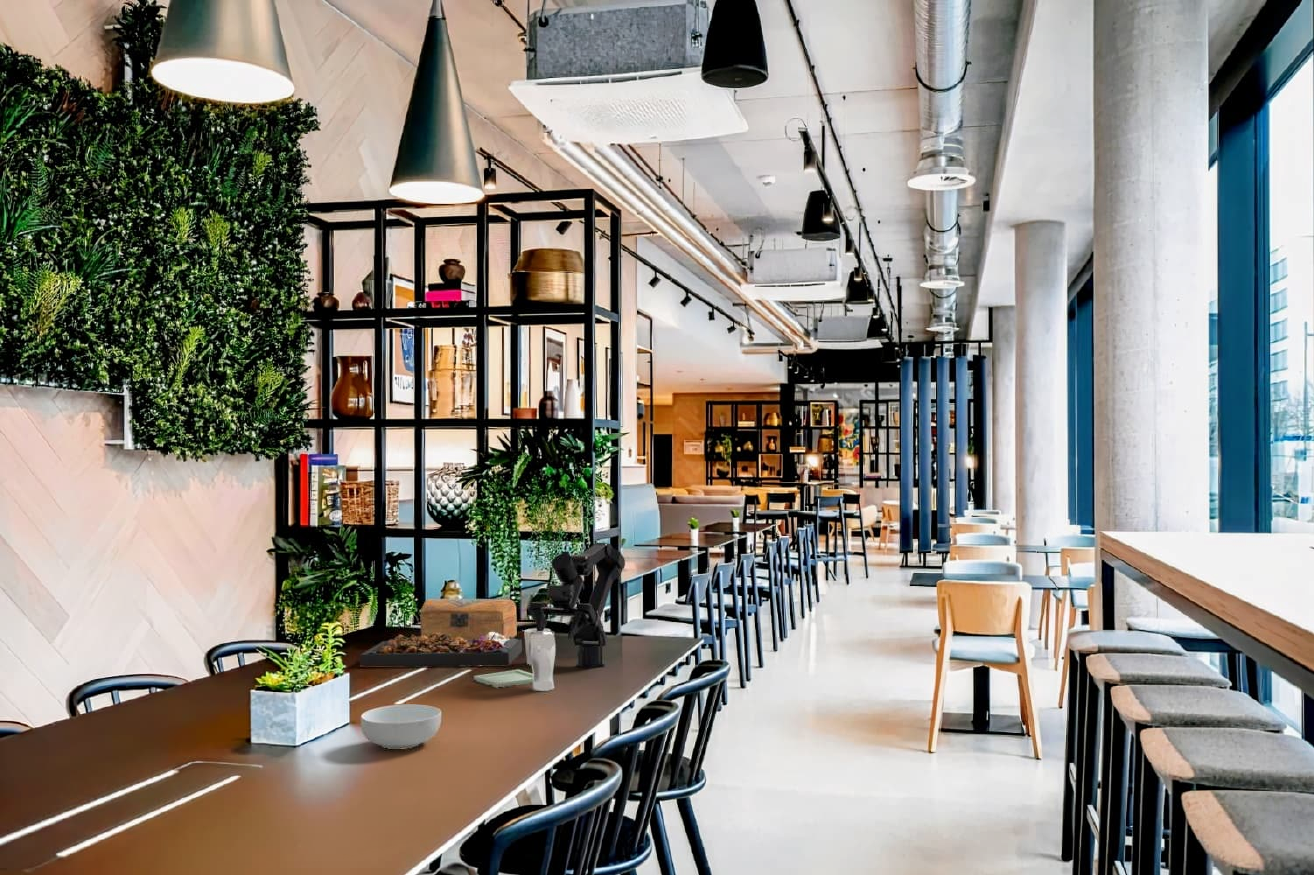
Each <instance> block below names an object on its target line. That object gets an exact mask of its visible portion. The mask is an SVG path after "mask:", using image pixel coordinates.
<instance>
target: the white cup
mask: <svg viewBox="0 0 1314 875" xmlns="http://www.w3.org/2000/svg"><path fill="white" fill-rule="evenodd" d="M536 631H537V627H534V628H528V629H525V630H524V632H523V633H524V645H525V646H524V647H525V656H526V664H527V665H528V664H529V665H528V666H532V665H531V660H530V651H529V644H530V633H531V632H536ZM543 631H552V630H551V629H550V628H546V627H545V628H544V630H543Z"/></svg>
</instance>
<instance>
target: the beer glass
mask: <svg viewBox="0 0 1314 875" xmlns="http://www.w3.org/2000/svg"><path fill="white" fill-rule="evenodd" d="M555 635H556V634H555V631H553V630H551V631H536V632H531V633H530V644H529V651H530V660H531V665H530V666H531V669H532V674H533V683H531V684H532V685H531V690H532V691H533V692H550V690H551V691H553V689H554V688H555V683H554V666H555V660H556V636H555ZM554 690H555V689H554Z"/></svg>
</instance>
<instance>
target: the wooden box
mask: <svg viewBox="0 0 1314 875" xmlns="http://www.w3.org/2000/svg"><path fill="white" fill-rule="evenodd" d="M419 612H420V613H419V617H420V618H419V620H420V637H421V636H422V635H425V636H430V635H431V633H434V632H439V633H446V634H448V633H449V634H450V635H451V638H453V639H454V638H455V637H461V638H463V639H467V640H473V639H476V640H479V639H480V637H482V636H484V635H486V634H488V633H489V632H494V633H498V634H499V635H500V634H501V635H502V636H505V639H507V638H510V637H513V638H515V637H516V636H518V635H517V634H518V633H517V628H518V624H517V622H518V621H517V619H518V618H517V604H516V603H515V601H514V600H512V599H497V598H496V599H495V598H494V599H493V598H487V599H486V598H429V599H426V600H425V601H424V603H423V605H422V607H421V609H420V611H419Z"/></svg>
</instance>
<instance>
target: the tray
mask: <svg viewBox="0 0 1314 875" xmlns="http://www.w3.org/2000/svg"><path fill="white" fill-rule="evenodd" d="M475 680H476V681H475ZM473 681H475V682H478V683H481V684H483V683H484V684H483V685H487V686H489V685H492V686H494V687H493V688H495V687H497V688H496V689H499V688H498V687H503V688H505V687H504V686H509V687H511V686H510V685H516V686H520V685H521V686H522V685H528V684H532V683H533V672H532V673H531V672H528V671H524V670H522V669H519V668H518V669H512V670H506V671H499V672H492V673H487V674H485V673H484V674H478V675H473ZM492 686H491V687H492Z"/></svg>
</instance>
